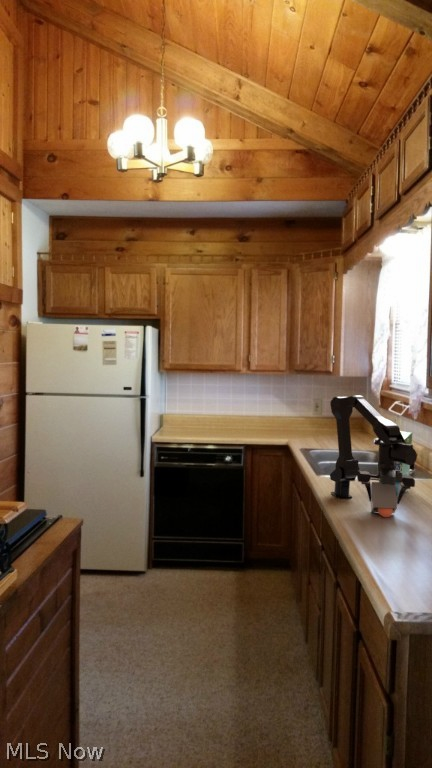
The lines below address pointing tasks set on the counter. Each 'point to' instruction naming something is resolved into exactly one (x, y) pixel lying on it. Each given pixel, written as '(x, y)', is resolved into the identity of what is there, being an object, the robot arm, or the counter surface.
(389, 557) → the counter surface
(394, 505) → the grey rectangular box
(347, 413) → the robot arm
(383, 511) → the ball
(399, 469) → the milk carton
